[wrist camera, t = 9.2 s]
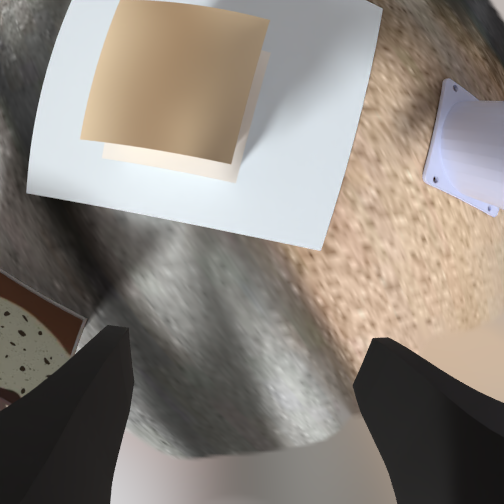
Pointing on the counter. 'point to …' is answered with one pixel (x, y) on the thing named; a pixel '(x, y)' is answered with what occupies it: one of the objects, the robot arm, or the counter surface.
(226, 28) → the maple block
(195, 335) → the counter surface
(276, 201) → the white flat panel
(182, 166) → the base block
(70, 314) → the food container
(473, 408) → the robot arm
